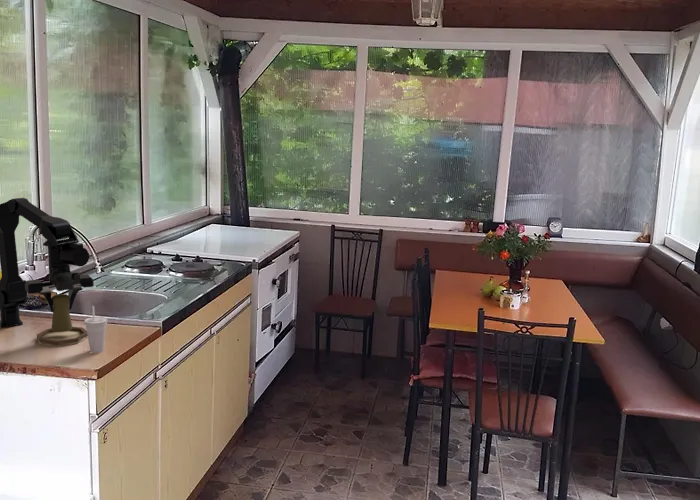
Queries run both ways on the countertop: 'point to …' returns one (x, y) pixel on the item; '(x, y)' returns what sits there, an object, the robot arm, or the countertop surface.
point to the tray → (62, 337)
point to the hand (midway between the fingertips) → (61, 310)
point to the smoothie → (96, 332)
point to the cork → (61, 313)
